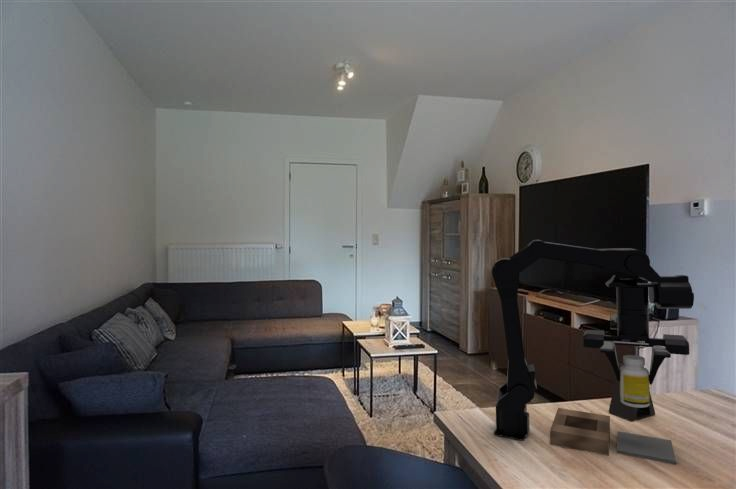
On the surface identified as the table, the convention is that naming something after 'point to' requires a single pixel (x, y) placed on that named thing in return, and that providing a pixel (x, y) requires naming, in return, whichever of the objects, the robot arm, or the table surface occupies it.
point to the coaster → (645, 447)
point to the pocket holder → (581, 431)
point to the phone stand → (628, 411)
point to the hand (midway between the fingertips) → (634, 382)
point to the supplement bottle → (634, 382)
